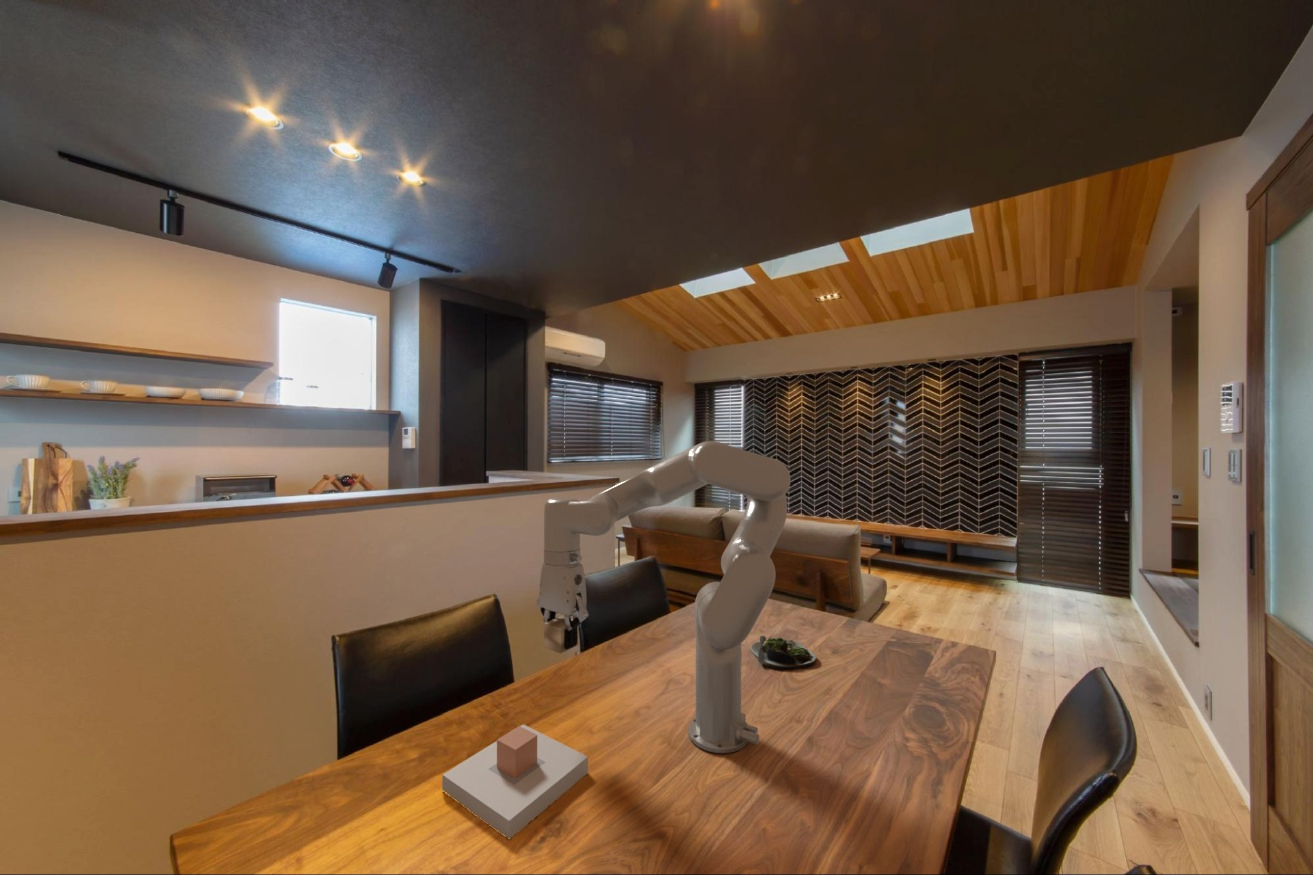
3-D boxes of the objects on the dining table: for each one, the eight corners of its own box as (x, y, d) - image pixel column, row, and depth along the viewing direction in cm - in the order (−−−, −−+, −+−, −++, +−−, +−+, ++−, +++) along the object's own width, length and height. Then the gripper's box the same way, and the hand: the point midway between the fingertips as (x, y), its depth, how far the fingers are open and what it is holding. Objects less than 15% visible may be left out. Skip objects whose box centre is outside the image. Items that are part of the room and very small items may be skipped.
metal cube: (578, 644, 100) (578, 621, 100) (560, 653, 96) (560, 628, 96) (561, 638, 103) (561, 615, 103) (543, 647, 99) (544, 623, 99)
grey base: (587, 772, 88) (587, 756, 88) (509, 839, 73) (509, 820, 73) (523, 738, 98) (523, 723, 98) (442, 791, 83) (442, 774, 83)
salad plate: (737, 644, 145) (737, 629, 145) (790, 639, 149) (790, 624, 149) (764, 674, 126) (764, 657, 126) (824, 667, 130) (824, 651, 130)
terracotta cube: (537, 762, 86) (537, 734, 87) (515, 778, 82) (515, 749, 82) (518, 752, 89) (519, 725, 89) (496, 767, 85) (497, 739, 85)
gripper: (604, 559, 98) (603, 647, 98) (548, 548, 108) (547, 628, 107) (578, 567, 92) (577, 661, 91) (521, 554, 101) (520, 639, 101)
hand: (561, 642), depth 99 cm, fingers closed on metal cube, 5 cm apart
